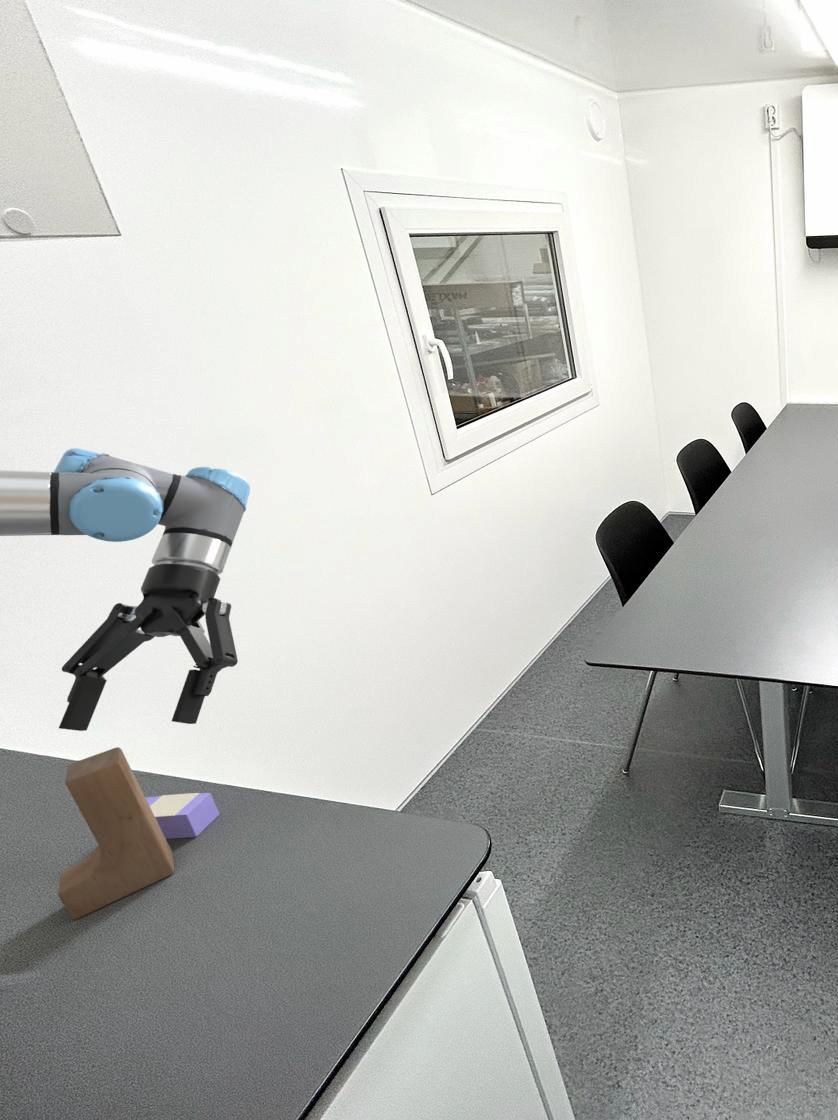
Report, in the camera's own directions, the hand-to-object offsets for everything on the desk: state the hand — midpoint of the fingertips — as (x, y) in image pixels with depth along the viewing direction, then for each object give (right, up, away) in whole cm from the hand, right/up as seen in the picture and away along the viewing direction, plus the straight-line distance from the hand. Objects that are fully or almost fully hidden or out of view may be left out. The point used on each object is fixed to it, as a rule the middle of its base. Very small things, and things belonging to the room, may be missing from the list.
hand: (128, 726), depth 80 cm
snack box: (-3, -17, +8) cm, 19 cm away
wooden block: (+1, -20, -1) cm, 20 cm away
